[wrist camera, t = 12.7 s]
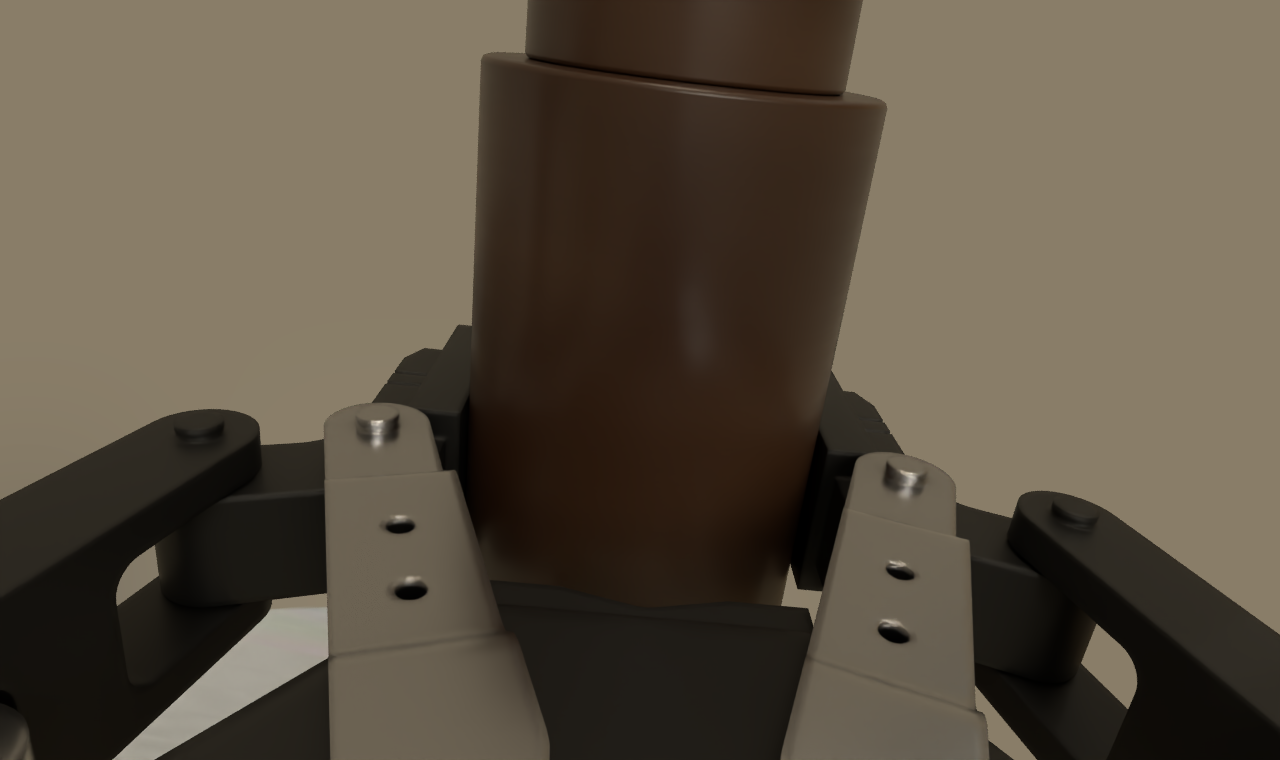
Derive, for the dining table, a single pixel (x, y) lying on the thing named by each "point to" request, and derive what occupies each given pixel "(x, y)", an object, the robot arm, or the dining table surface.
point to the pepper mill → (660, 290)
